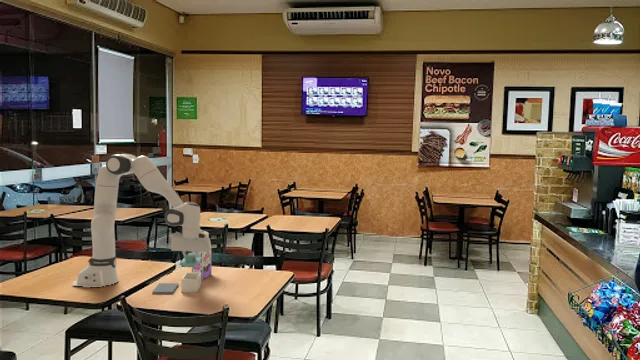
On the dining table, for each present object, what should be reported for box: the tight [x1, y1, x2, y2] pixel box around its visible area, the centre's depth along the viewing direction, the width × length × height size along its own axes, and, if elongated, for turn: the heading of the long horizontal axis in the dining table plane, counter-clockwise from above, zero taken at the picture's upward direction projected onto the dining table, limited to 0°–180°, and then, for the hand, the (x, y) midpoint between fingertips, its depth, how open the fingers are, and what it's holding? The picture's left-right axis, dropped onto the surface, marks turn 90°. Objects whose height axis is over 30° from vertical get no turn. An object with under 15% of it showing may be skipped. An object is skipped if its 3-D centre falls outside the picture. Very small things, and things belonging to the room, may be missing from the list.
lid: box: [179, 252, 201, 268], centre depth 250 cm, size 9×13×5 cm
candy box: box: [191, 249, 212, 282], centre depth 272 cm, size 14×6×16 cm, turn 168°
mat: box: [151, 282, 179, 295], centre depth 249 cm, size 10×14×1 cm
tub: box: [180, 272, 202, 294], centre depth 251 cm, size 8×12×7 cm, turn 5°
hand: (190, 259), depth 250 cm, fingers closed on lid, 3 cm apart
